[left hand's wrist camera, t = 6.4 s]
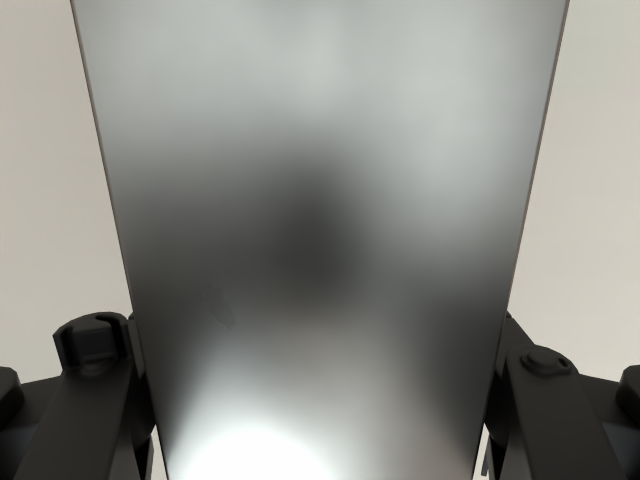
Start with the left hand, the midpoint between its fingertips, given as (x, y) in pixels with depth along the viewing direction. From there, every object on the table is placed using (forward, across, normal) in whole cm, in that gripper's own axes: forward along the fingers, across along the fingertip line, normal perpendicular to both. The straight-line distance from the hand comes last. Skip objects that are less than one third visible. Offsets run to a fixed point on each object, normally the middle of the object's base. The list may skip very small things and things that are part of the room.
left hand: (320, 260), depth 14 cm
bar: (+1, 0, -8) cm, 8 cm away
